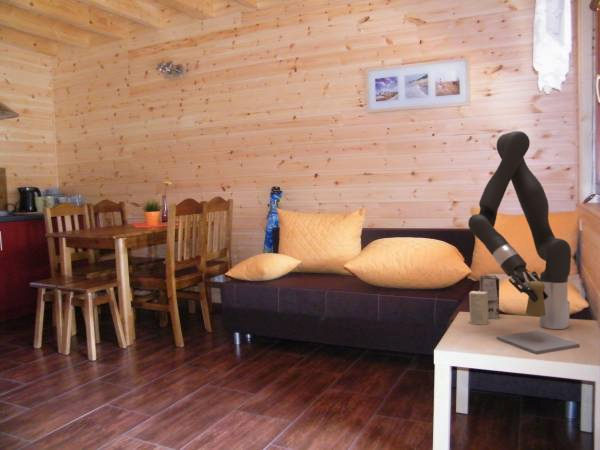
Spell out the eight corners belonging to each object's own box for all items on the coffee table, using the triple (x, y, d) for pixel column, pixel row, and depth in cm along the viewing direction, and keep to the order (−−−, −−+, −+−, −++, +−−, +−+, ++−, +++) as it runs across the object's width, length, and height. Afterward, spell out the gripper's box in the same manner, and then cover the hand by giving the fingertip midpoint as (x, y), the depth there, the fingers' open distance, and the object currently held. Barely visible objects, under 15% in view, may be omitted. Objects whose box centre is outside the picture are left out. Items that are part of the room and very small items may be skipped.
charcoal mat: (536, 333, 186) (536, 330, 186) (579, 346, 169) (579, 343, 169) (496, 339, 180) (496, 336, 180) (536, 354, 163) (536, 351, 163)
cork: (537, 316, 170) (538, 283, 169) (521, 313, 175) (522, 280, 174) (549, 314, 172) (550, 281, 172) (534, 311, 178) (534, 279, 177)
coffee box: (499, 319, 207) (499, 279, 206) (482, 318, 208) (482, 278, 207) (495, 313, 216) (495, 275, 215) (479, 313, 217) (479, 275, 216)
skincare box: (488, 322, 202) (488, 291, 201) (485, 325, 198) (485, 293, 197) (472, 320, 205) (471, 290, 204) (469, 323, 201) (469, 292, 201)
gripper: (503, 255, 174) (537, 296, 165) (527, 251, 183) (560, 290, 174) (490, 268, 179) (521, 309, 170) (513, 264, 187) (545, 303, 178)
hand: (541, 299), depth 172 cm, fingers closed on cork, 5 cm apart
